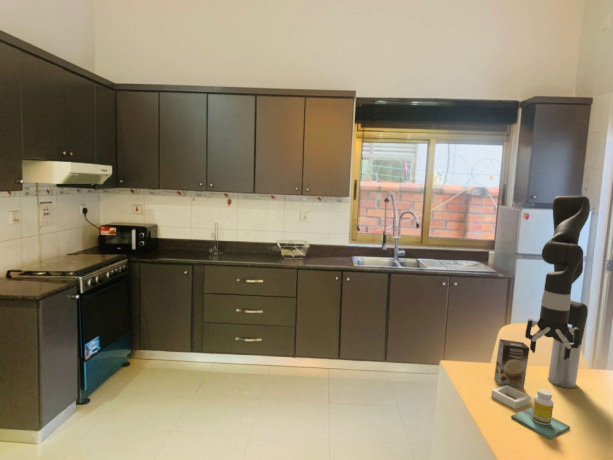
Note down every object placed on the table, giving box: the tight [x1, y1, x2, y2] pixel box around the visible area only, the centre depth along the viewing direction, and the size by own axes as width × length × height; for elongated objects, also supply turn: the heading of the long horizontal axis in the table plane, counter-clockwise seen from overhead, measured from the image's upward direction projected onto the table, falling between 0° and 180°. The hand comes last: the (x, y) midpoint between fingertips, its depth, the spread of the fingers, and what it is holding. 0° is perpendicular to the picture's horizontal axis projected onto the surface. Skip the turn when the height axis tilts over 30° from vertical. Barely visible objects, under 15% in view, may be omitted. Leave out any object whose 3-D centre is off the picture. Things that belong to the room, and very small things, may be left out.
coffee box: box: [494, 338, 530, 389], centre depth 152 cm, size 9×6×16 cm
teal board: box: [510, 406, 571, 440], centre depth 126 cm, size 12×12×1 cm
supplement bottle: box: [531, 388, 554, 425], centre depth 125 cm, size 5×5×10 cm
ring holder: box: [490, 385, 532, 410], centre depth 139 cm, size 9×9×2 cm
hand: (548, 355), depth 124 cm, fingers open, 8 cm apart
